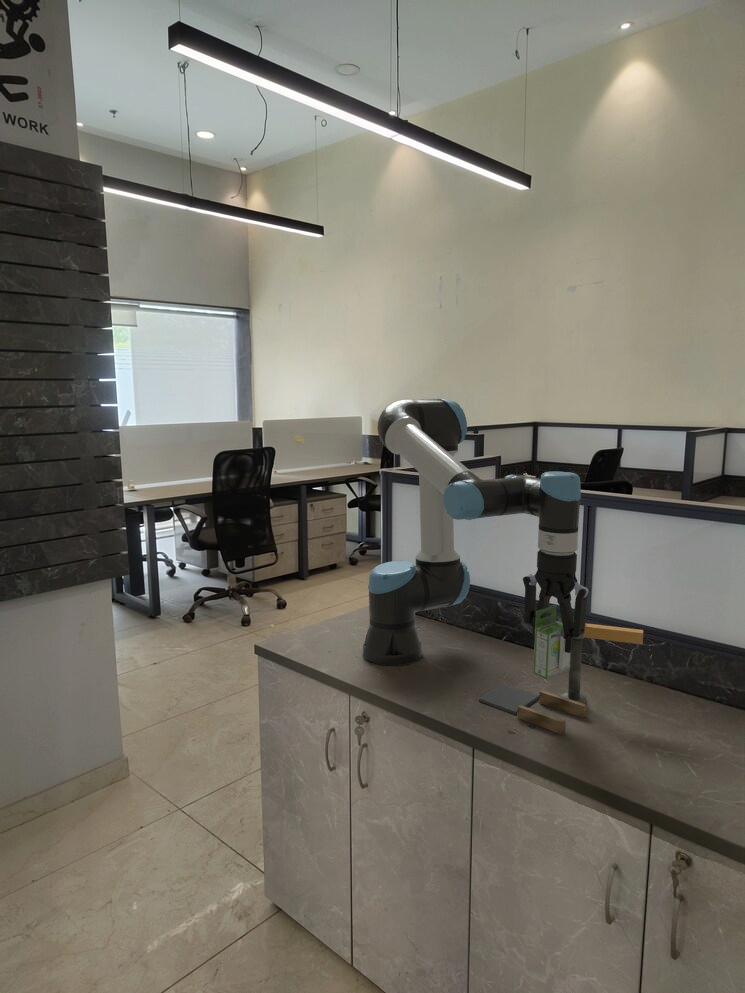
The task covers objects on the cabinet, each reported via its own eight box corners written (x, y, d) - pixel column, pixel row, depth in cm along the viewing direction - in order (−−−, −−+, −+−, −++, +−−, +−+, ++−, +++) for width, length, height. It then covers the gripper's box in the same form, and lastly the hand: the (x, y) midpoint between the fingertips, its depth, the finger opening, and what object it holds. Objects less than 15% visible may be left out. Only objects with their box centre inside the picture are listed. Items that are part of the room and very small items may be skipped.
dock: (517, 718, 131) (519, 652, 129) (557, 689, 144) (559, 629, 141) (562, 734, 124) (565, 666, 122) (601, 703, 137) (604, 640, 135)
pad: (478, 701, 138) (478, 698, 138) (503, 685, 146) (503, 683, 146) (515, 714, 132) (515, 711, 132) (539, 698, 140) (539, 695, 139)
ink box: (548, 681, 127) (551, 616, 124) (532, 674, 130) (534, 610, 128) (570, 671, 131) (573, 608, 129) (554, 665, 134) (556, 603, 132)
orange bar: (566, 637, 135) (567, 624, 135) (568, 632, 139) (568, 618, 138) (642, 647, 130) (643, 633, 129) (642, 641, 133) (643, 627, 133)
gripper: (508, 546, 129) (504, 655, 133) (591, 562, 117) (584, 682, 121) (527, 540, 135) (522, 645, 138) (608, 554, 123) (601, 669, 127)
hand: (551, 662), depth 130 cm, fingers closed on ink box, 4 cm apart
